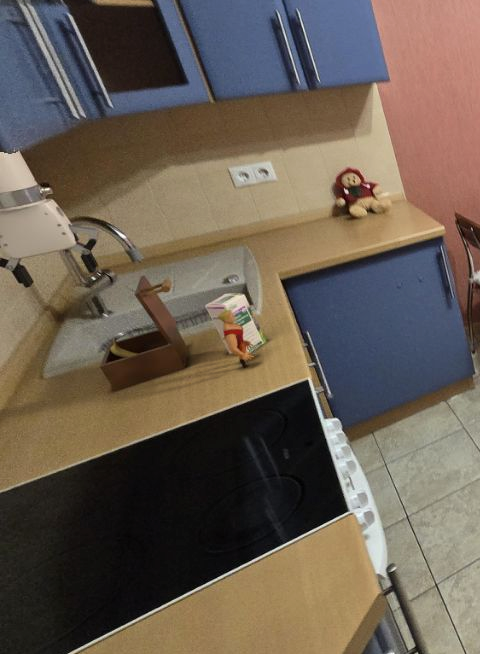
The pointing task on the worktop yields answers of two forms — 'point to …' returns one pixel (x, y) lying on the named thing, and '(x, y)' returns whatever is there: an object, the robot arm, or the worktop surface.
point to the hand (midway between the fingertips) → (62, 277)
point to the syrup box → (237, 318)
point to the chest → (144, 359)
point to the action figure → (235, 337)
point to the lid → (156, 306)
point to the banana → (120, 351)
